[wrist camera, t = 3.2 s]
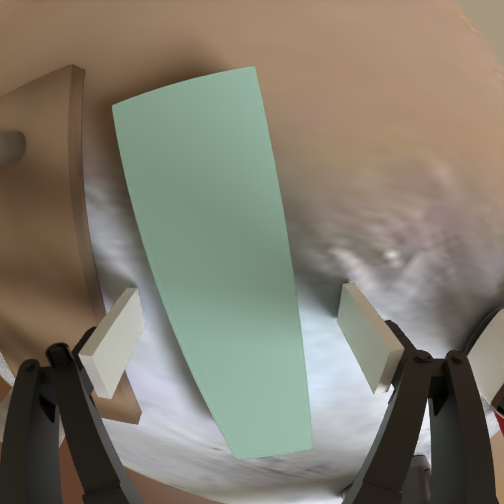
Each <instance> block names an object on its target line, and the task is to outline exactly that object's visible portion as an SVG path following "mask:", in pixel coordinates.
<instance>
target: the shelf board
mask: <svg viewBox="0 0 504 504" xmlns="http://www.w3.org/2000/svg"><path fill="white" fill-rule="evenodd" d="M112 111H113V117H114V123H115V129H116V135H117V140H118V145H119V150H120V155H121V160H122V165H123V169H124V174H125V178H126V183H127V187H128V191H129V195H130V199H131V203H132V207H133V211H134V214H135V218H136V222H137V225H138V229H139V232H140V236H141V239H142V242H143V246H144V249H145V252H146V255H147V258H148V262H149V265H150V268H151V271H152V274H153V277H154V280H155V282H156V285H157V288H158V291H159V294H160V297H161V299H162V302H163V305H164V308H165V310H166V313H167V315H168V318H169V321H170V323H171V326H172V328H173V331H174V333H175V336H176V338H177V341H178V343H179V345H180V348H181V350H182V352H183V355H184V357H185V359H186V362H187V364H188V366H189V368H190V371H191V373H192V375H193V377H194V379H195V382H196V384H197V386H198V388H199V390H200V392H201V394H202V396H203V398H204V400H205V402H206V404H207V406H208V408H209V410H210V412H211V414H212V416H213V418H214V420H215V422H216V424H217V426H218V428H219V429H220V431H221V433H222V435H223V437H224V439H225V440H226V442H227V444H228V446H229V448H230V449H231V451H232V453H233V454H234V456H235V458H236V460H239V459H250V458H259V457H267V456H275V455H281V454H287V453H293V452H298V451H304V450H309V449H313V438H312V426H311V415H310V404H309V394H308V384H307V375H306V366H305V357H304V348H303V340H302V332H301V324H300V316H299V309H298V301H297V294H296V287H295V280H294V273H293V267H292V260H291V254H290V247H289V241H288V235H287V229H286V223H285V217H284V211H283V205H282V199H281V194H280V188H279V183H278V177H277V172H276V166H275V161H274V156H273V151H272V146H271V141H270V136H269V131H268V126H267V121H266V116H265V111H264V107H263V102H262V97H261V93H260V88H259V84H258V80H257V75H256V71H255V66H252V67H245V68H240V69H234V70H229V71H224V72H219V73H214V74H210V75H205V76H201V77H197V78H193V79H189V80H185V81H182V82H178V83H175V84H171V85H168V86H165V87H161V88H158V89H155V90H152V91H149V92H146V93H143V94H140V95H138V96H135V97H132V98H129V99H127V100H124V101H122V102H119V103H117V104H114V105H112Z"/></svg>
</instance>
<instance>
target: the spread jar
mask: <svg viewBox="0 0 504 504" xmlns="http://www.w3.org/2000/svg"><path fill="white" fill-rule="evenodd" d="M463 353H464V354H465V355H466V356H467V358H468V360H469V363H470V365H471V368H472V371H473V375H474V378H475V381H476V384H477V388H478V391H479V392H480V393H481V395H482V396H483V397H484V399H485V400H486V401H487V402H488V404H489V405H490V406H491V407H492V408H493V409H494V410H495V411H496V412H497V413H498V414H499V415H500V416H501V417H502V418H504V307H498V308H496V309H494V310H493V311H492V312H490V313H489V314H488V315H487V316H486V317H485V318H484V319H483V320H482V321H481V322H480V323H479V324H478V326H477V327H476V328H475V330H474V331H473V333H472V335H471V336H470V338H469V340H468V342H467V344H466V347H465V349H464V352H463Z"/></svg>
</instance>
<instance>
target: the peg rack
mask: <svg viewBox="0 0 504 504" xmlns="http://www.w3.org/2000/svg"><path fill="white" fill-rule="evenodd" d="M84 75H85V70H84V69H82V68H79V67H77V66H75V65H73V64H72V65H69V66H66V67H64V68H61V69H59V70H56V71H54V72H52V73H49V74H47V75H45V76H42V77H40V78H38V79H36V80H34V81H32V82H30V83H27V84H25V85H23V86H22V87H20V88H18V89H16V90H14V91H12V92H10V93H8V94H7V95H5V96H3V97H1V98H0V351H1V353H2V355H3V357H4V359H5V361H6V363H7V365H8V366H9V368H10V370H11V372H12V374H13V375H14V377H15V379H16V376H17V373H18V369H19V367H20V365H21V364H22V363H23V362H24V361H25V360H27V359H36V360H38V361H39V363H40V365H41V367H45V366H50V364H49V362H48V359H47V357H46V355H45V351H46V350H47V348H48V347H49V346H51V345H52V344H55V343H59V342H63V343H66V344H68V346H69V348H70V350H71V351H72V350H73V349H74V347H75V346H76V344H77V343H79V340H80V339H81V338H82V336H83V335H84V334H85V332H86V331H87V330H89V329H90V328H91V327H93V326H95V327H98V325H99V324H100V322H101V321H102V320H103V318H104V317H105V316H106V310H105V306H104V302H103V298H102V294H101V290H100V286H99V282H98V277H97V273H96V268H95V263H94V258H93V252H92V247H91V241H90V234H89V228H88V220H87V213H86V204H85V194H84V182H83V167H82V100H83V86H84ZM13 387H14V386H13ZM13 387H12V388H11V390H10V391H9V393H8V394H7V396H6V397H5V398H4V400H3V401H2V403H1V404H0V441H1V442H3V435H4V429H5V423H6V418H7V413H8V408H9V403H10V399H11V395H12V391H13ZM91 395H92V396H93V398H94V401H95V404H96V406H97V409H98V412H99V414H100V417H101V418H106V419H110V420H115V421H120V422H126V423H131V424H137V425H138V423H139V420H140V416H141V413H142V411H141V409H140V407H139V404H138V402H137V400H136V397H135V395H134V393H133V390H132V388H131V385H130V383H129V380H128V378H127V375H126V372H125V370H124V372H123V374H122V376H121V378H120V381H119V383H118V385H117V387H116V390H115V392H114V394H113V396H112V399H108V398H102V397H98V395H97V393H96V392H95V390H93V392H92V394H91ZM64 437H65V432H64V429H63V425H62V421H61V416H60V418H59V447H60V445H61V443H62V441H63V439H64Z"/></svg>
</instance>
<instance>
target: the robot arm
mask: <svg viewBox="0 0 504 504" xmlns="http://www.w3.org/2000/svg"><path fill="white" fill-rule="evenodd" d="M337 323H338V325H339V326H340V328H341V330H342V332H343V334H344V336H345V338H346V340H347V342H348V344H349V346H350V348H351V350H352V352H353V353H354V355H355V357H356V359H357V361H358V363H359V365H360V367H361V369H362V371H363V373H364V375H365V377H366V379H367V381H368V383H369V385H370V387H371V390H372V392H373V394H374V395H375V394H379V393H384V392H388V390H389V387H390V385H391V383H392V385H393V387H394V391H393V393H392V395H391V398H390V400H389V402H388V404H389V405H388V407H387V410H386V413H385V415H384V418H383V421H382V423H381V426H380V428H379V431H378V433H377V435H376V438H375V440H374V442H373V445H372V447H371V449H370V451H369V453H368V455H367V458H366V460H365V462H364V464H363V466H362V468H361V470H360V472H359V474H358V476H357V477H356V479H355V481H354V483H353V484H352V485H350V486H349V487H347V488H346V489H345V490H344V491H343V492H342V498H343V502H342V504H499V502H498V499H497V497H496V489H495V476H494V466H493V458H492V451H491V444H490V439H489V433H488V428H487V423H486V419H485V414H484V410H483V406H482V402H481V398H480V395H479V391H478V388H477V384H476V381H475V378H474V375H473V371H472V368H471V365H470V363H469V360H468V358H467V356H466V355H465V354H464V353H462V352H461V351H457V350H452V351H449V352H448V353H447V354H446V357H445V359H433V358H432V356H431V355H430V354H429V353H428V352H426V351H423V350H417V349H416V348H415V347H414V345H413V344H412V343H411V342H410V340H409V339H408V338H407V337H406V336H405V334H404V333H403V331H401V329H400V328H399V326H398V325H397V324H395V323H394V322H392V321H391V320H386V321H384V320H383V319H382V318H381V316H380V315H379V314H378V313H377V311H376V310H375V309H374V307H373V306H372V305H371V304H370V302H369V301H368V300H367V299H366V297H365V296H364V295H363V294H362V292H361V291H360V290H359V289H358V287H357V286H356V285H355V284H354V283H345V284H343V285H342V292H341V299H340V306H339V312H338V318H337ZM145 326H146V324H145V319H144V315H143V310H142V306H141V301H140V296H139V291H138V288H126V289H125V291H124V292H123V293H122V295H121V296H120V297H119V298H118V300H117V301H116V302H115V304H114V305H113V306H112V308H111V309H110V310H109V312H108V313H107V314H106V316H105V317H104V318H103V320H102V321H101V322H100V324H99V325H98V327H95V326H93V327H91V328H90V329H89V330H87V331H86V332H85V334H84V335H83V336H82V338H81V339H80V340H79V343H77V344H76V346H75V347H74V349H73V350H72V351H71V350H70V348H69V346H68V344H66V343H63V342H59V343H55V344H52V345H51V346H49V347H48V348H47V350H46V351H45V355H46V357H47V359H48V362H49V364H50V366H45V367H41V365H40V363H39V361H38V360H36V359H27V360H25V361H24V362H23V363H22V364H21V365H20V367H19V369H18V373H17V376H16V380H15V383H14V387H13V391H12V395H11V399H10V403H9V408H8V413H7V418H6V423H5V429H4V435H3V442H2V450H1V460H0V504H63V501H62V492H61V482H60V466H59V418H60V416H61V421H62V425H63V429H64V432H65V436H66V440H67V443H68V446H69V450H70V453H71V456H72V459H73V462H74V465H75V467H76V471H77V473H78V476H79V479H80V481H81V484H82V486H83V489H84V492H85V494H84V495H82V497H83V502H84V504H145V503H144V501H143V500H142V498H141V497H140V495H139V493H138V492H137V490H136V488H135V487H134V485H133V483H132V481H131V480H130V478H129V476H128V474H127V473H126V471H125V469H124V467H123V465H122V463H121V461H120V459H119V457H118V455H117V453H116V451H115V449H114V447H113V445H112V442H111V440H110V438H109V436H108V433H107V431H106V429H105V426H104V424H103V422H102V419H101V417H100V414H99V412H98V409H97V406H96V404H95V401H94V398H93V396H92V395H91V394H92V392H93V390H95V392H96V393H97V395H98V397H102V398H108V399H112V396H113V394H114V392H115V390H116V387H117V385H118V383H119V381H120V378H121V376H122V374H123V372H124V370H125V368H126V365H127V363H128V361H129V359H130V357H131V355H132V353H133V351H134V349H135V347H136V344H137V342H138V340H139V338H140V336H141V334H142V332H143V330H144V328H145ZM427 398H428V405H429V416H430V430H431V467H430V464H429V462H428V460H427V458H426V457H425V456H415V457H413V454H414V451H415V448H416V444H417V441H418V437H419V433H420V430H421V426H422V421H423V417H424V413H425V408H426V403H427Z"/></svg>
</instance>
